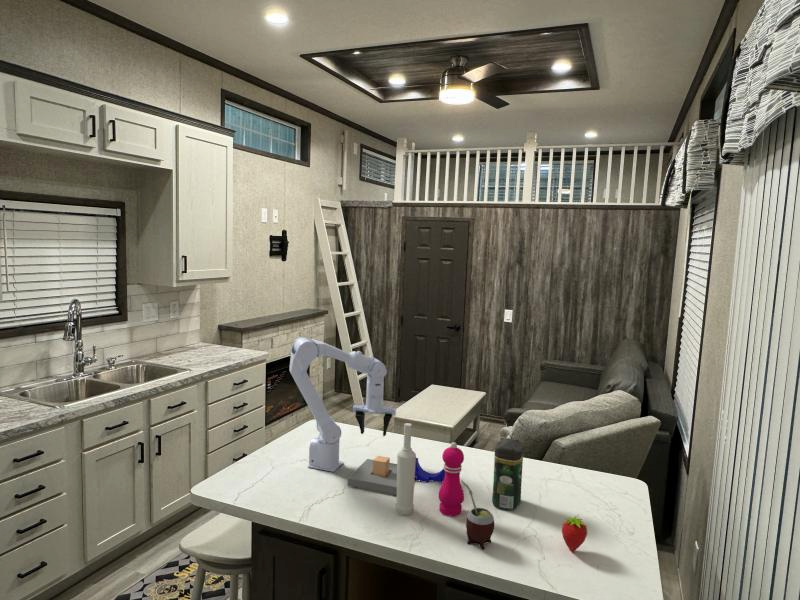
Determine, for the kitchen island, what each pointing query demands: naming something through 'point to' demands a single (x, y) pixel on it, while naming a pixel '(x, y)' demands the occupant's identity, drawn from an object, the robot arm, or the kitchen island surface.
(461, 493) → the pepper mill
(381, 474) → the plug
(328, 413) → the robot arm
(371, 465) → the socket plate
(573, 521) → the strawberry
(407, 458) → the bottle
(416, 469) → the cable clip
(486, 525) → the mate gourd
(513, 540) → the kitchen island surface
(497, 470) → the coffee jar
